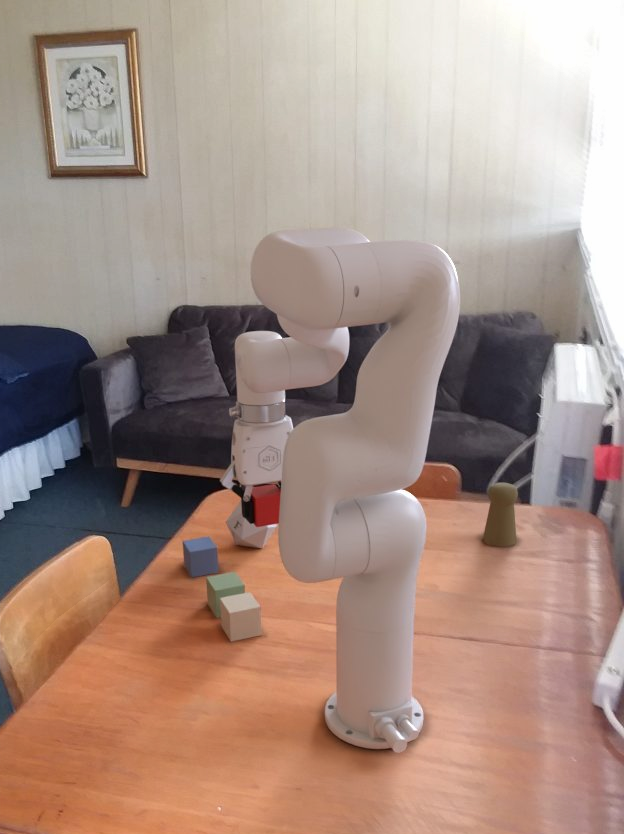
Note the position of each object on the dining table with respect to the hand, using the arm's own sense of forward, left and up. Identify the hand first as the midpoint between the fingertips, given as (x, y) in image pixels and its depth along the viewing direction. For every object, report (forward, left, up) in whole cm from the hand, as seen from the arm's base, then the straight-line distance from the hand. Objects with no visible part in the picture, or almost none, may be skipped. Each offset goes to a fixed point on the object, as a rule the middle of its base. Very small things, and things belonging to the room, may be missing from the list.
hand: (265, 516), depth 138 cm
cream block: (-11, +9, -13) cm, 19 cm away
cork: (+1, -46, -14) cm, 48 cm away
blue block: (+12, +9, -13) cm, 20 cm away
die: (+18, -3, -14) cm, 23 cm away
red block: (0, 0, 0) cm, 0 cm away
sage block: (-3, +9, -13) cm, 16 cm away
